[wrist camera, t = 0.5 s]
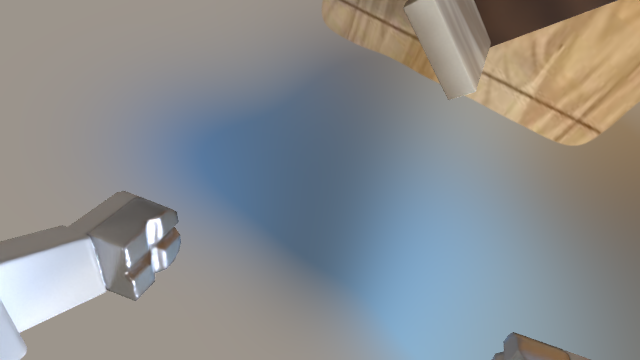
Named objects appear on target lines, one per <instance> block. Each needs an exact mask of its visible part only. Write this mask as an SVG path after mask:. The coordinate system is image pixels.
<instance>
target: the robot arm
mask: <svg viewBox="0 0 640 360" xmlns="http://www.w3.org/2000/svg"><path fill="white" fill-rule="evenodd" d="M177 223H178V216H177V212H176V211H174V210H172V209H170V208H167V207H165V206H162V205H160V204H157V203H155V202H152V201H150V200H147V199H144V198H142V197H139V196H136V195H134V194H131V193H129V192H126V191H121V192H117V193H115V194H114V195H113V196H112V197H110V198H108V199H107V200H105V201H104V202H103V203H101V204H100V205H98V206H97V207H96V208H94V209H93V210H91V211H90V212H88V213H87V214H86V215H84V216H83V217H82V218H80V219H78V220H77V221H76V222H74V223H73V224H71V225H70V226H69V227H66V226H58V227H54V228H50V229H46V230H43V231H39V232H35V233H32V234H28V235H24V236H20V237H16V238H12V239H8V240H5V241H1V242H0V360H20V359H21V358H22V357H23V356H24V355H25V354H26V351H27V347H26V345H25V343H24V341H23V339H22V337H21V335H20V334H19V333H20V332H22V331H24V330H26V329H28V328H30V327H33V326H35V325H37V324H39V323H41V322H43V321H45V320H47V319H49V318H52V317H53V316H56V315H58V314H60V313H62V312H64V311H66V310H68V309H71V308H73V307H75V306H77V305H79V304H81V303H83V302H85V301H88V300H90V299H92V298H94V297H96V296H98V295H100V294H102V293H104V292H106V290H109V291H111V292H114V293H117V294H119V295H121V296H124V297H126V298H129V299H132V300H134V301H136V300H137V299H138V298H139V297H140V296H141V295H142V294H143V293H144V292H145V291H146V290H147V289H148V288H149V287H150V286H151V285H152V284H153V283H154V282H155V273H157V272H160V271H162V270H165V269H167V268H168V266H170V264H171V263H172V262H173V261H174V259H175V258H176V255H177V254H178V252H179V249H180V243H181V239H180V234H179V233H178V231H177V230H176V228H175V227H174V226H175V225H176V224H177ZM492 360H590V359H587V358H584V357H582V356H579V355H576V354H573V353H570V352H568V351H564V350H562V349H560V348H557V347H554V346H551V345H548V344H546V343H543V342H540V341H537V340H534V339H531V338H528V337H526V336H523V335H520V334H517V333H514V332H513V333H511V334H510V335H508V336H507V338H506V339H505V341H504V352H500V353H496V354H495V355H494V357H493V359H492Z"/></svg>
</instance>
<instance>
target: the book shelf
mask: <svg viewBox="0 0 640 360" xmlns="http://www.w3.org/2000/svg"><path fill="white" fill-rule="evenodd" d="M614 1H617V0H408V1H407V2H406V4H405V5H404V7H403V9H404V11H405V13H406V15H407V17H408V19H409V21H410V23H411V25H412V27H413V29H414V31H415V33H416V35H417V37H418V39H419V41H420V43H421V45H422V47H423V49H424V51H425V54H426V56H427V58H428V60H429V62H430V64H431V66H432V68H433V70H434V72H435V74H436V76H437V78H438V80H439V82H440V84H441V86H442V88H443V90H444V92H445V94H446V96H447V98H448V100H450V99H453V98H457V97H460V96H463V95H467V94H470V93H473V92H476V89H477V86H478V82H479V79H480V76H481V73H482V70H483V67H484V64H485V60H486V57H487V54H488V51H489V48H490V47H492V46H495V45H497V44H500V43H503V42H506V41H508V40H511V39H514V38H516V37H519V36H522V35H525V34H527V33H530V32H533V31H535V30H538V29H541V28H544V27H546V26H549V25H552V24H554V23H557V22H560V21H563V20H565V19H568V18H571V17H573V16H576V15H579V14H582V13H584V12H587V11H590V10H593V9H595V8H598V7H601V6H603V5H606V4H609V3H612V2H614Z"/></svg>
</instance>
